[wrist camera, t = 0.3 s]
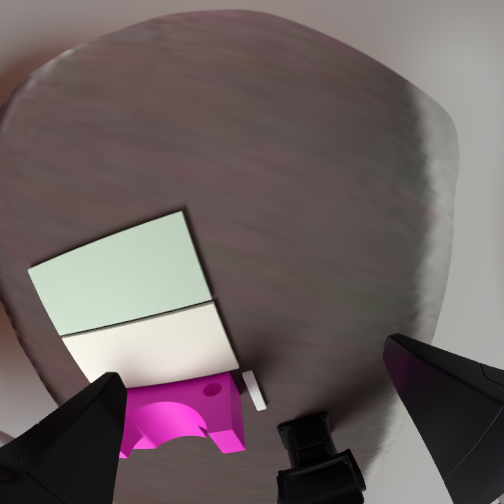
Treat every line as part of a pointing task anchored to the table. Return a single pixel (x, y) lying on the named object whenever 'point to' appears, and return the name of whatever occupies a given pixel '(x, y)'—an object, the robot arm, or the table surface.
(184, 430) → the toy block
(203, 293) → the game board
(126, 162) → the table surface
